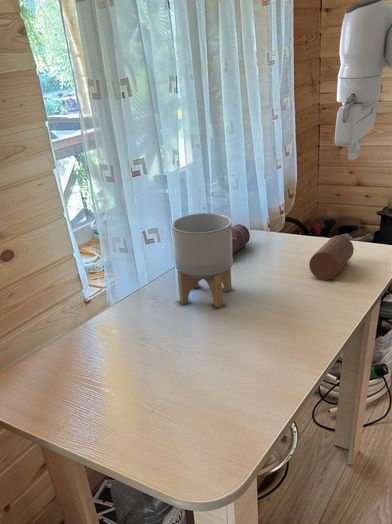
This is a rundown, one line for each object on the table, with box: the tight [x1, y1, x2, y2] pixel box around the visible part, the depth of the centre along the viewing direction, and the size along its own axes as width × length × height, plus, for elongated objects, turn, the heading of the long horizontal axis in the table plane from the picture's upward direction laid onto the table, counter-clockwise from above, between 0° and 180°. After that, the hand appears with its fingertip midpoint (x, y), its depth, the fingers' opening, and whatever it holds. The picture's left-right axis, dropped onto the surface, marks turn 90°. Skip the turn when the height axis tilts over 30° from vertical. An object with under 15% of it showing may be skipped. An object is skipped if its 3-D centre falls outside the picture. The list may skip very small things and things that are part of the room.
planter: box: [171, 212, 234, 308], centre depth 116 cm, size 13×13×18 cm
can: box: [232, 223, 251, 255], centre depth 141 cm, size 6×6×14 cm
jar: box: [308, 235, 355, 281], centre depth 127 cm, size 7×7×12 cm
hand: (353, 158), depth 117 cm, fingers closed
